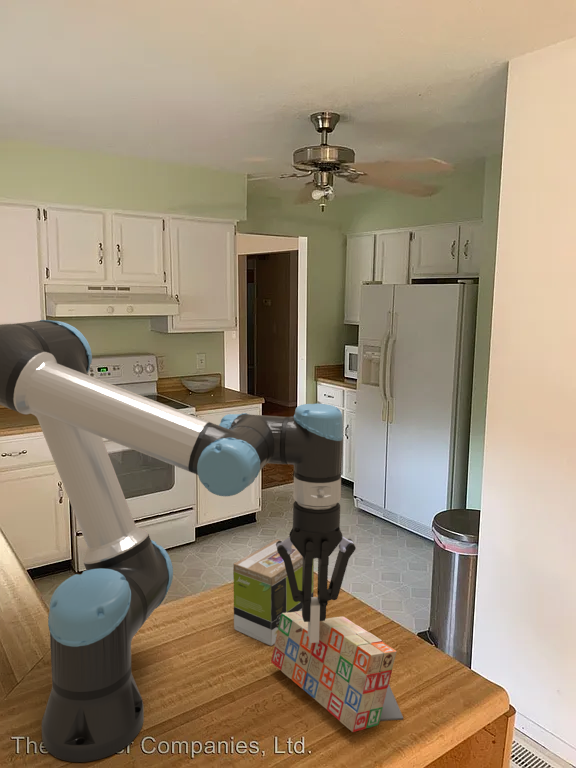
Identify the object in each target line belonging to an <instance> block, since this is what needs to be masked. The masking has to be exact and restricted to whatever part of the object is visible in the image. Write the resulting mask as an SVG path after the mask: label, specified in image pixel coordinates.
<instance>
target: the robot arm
mask: <svg viewBox="0 0 576 768" xmlns="http://www.w3.org/2000/svg"><path fill="white" fill-rule="evenodd" d="M92 362H93V354H92V348H91V346H90V343H89V342H88V340H87V338H86V337H85V336H84V334H83V333H82V332H81V331H80V330H79V329H77V328H76V327H75V326H73V325H71V324H69V323H68V322H63V321H59V320H49V319H41V320H37V321H27V322H17V323H4V324H0V406H2V407H4V408H7V409H9V410H12V411H14V412H17V413H19V414H22V415H30V414H31V415H33V416H34V417H36V419H37V421H38V424H39V426H40V429H41V431H42V434H43V436H44V439H45V442H46V444H47V446H48V450H49V453H50V454H51V457H52V459H53V463H54V464H55V468H56V470H57V473H58V476H59V478H60V480H61V483H62V484H63V488H64V491H65V492H66V495H67V498H68V500H69V503H70V506H71V509H72V511H73V513H74V516H75V519H76V521H77V523H78V526H79V528H80V531H81V533H82V536H83V539H84V542H85V544H86V547H87V548H86V550H85V552H84V554H83V555H84V556H83V557H82V562H83V565H84V568H85V570H84V571H82V573H81V574H77V573H76V574H73V575H71V576H70V577H68V578H67V579H65V580H63V582H61V583H60V584H59V585H58V586H57V587H56V589H55V590H54V591H53V593H52V595H51V597H50V601H49V612H48V617H47V618H48V622H47V625H48V629H49V641H50V642H49V645H50V662H51V663H50V664H51V683H52V685H51V686H52V687H51V692H50V694H49V697H48V699H47V700H48V701H47V703H46V708H45V709H44V710H45V711H44V713H43V715H42V720H41V738H42V744H43V746H44V748H45V749H46V751H47V752H48V753H49V754H50V755H52V756H53V757H55V758H57V759H59V760H62V761H65V762H66V761H67V762H73V763H86V762H93V761H97V760H102V759H105V758H107V757H110V756H112V755H114V754H116V753H118V752H120V751H121V750H123V749H124V748H126V747H127V746H128V745H129V744H130V743H132V742H133V741H134V739H136V737H137V736H138V735H139V734H140V731H142V727H143V723H144V718H145V717H144V713H145V712H144V708H145V707H144V702H143V701H144V700H143V698H142V696H141V693H140V691H139V688H138V685H137V683H136V680H135V677H134V676H133V673H132V642H133V641H132V640H133V638H134V637H135V635H137V633H138V632H139V630H140V629H141V628H142V627H143V625H144V624H145V623H146V621H147V620H148V619H149V618H150V616H151V615H152V614H153V613H154V611H155V610H156V609H157V608H159V606H160V605H161V604H162V603H163V601H164V599H166V596H167V594H168V591H169V590H170V588H171V586H172V584H173V578H174V568H173V563H172V560H171V557H170V555H169V553H168V552H167V550H166V549H165V548H164V547H163V545H159V544H158V543H157V541H154V540H152V539H151V537H150V534H149V533H148V531H147V530H145V529H143V528H141V527H138V526H137V525H136V523H135V520H134V517H133V515H132V513H131V510H130V507H129V505H128V503H127V500H126V497H125V495H124V492H123V489H122V486H121V484H120V482H119V478H118V476H117V474H116V471H115V468H114V465H113V462H112V461H111V458H110V455H109V452H108V449H107V448H106V445H105V442H104V439H105V440H108V441H111V442H113V443H116V444H118V445H121V446H123V447H126V448H129V449H131V450H133V451H136V452H138V453H141V454H143V455H146V456H148V457H151V458H154V459H157V460H159V461H160V462H161V461H162V462H164V463H166V464H168V465H171V466H174V467H177V468H179V469H182V470H184V471H186V472H190V473H192V474H195V475H196V476H197V477H198V479H199V481H200V483H201V484H202V486H203V487H204V488H206V489H207V491H209V492H210V493H211V494H213V495H216V496H220V497H232V496H235V495H238V494H240V493H242V491H244V490H246V489H247V488H248V487H249V486H250V485H252V484H253V483H254V481H255V480H256V478H258V475H259V473H260V472H261V470H262V469H264V467H265V466H266V465H267V464H272V465H273V464H274V465H276V464H277V465H293V491H292V492H293V493H292V494H293V495H292V498H293V500H294V502H293V503H292V505H293V506H292V528H291V530H290V531H289V536H288V537H287V538H286V539H284V540H281V541H278V542H277V543H276V547H277V551H278V553H279V555H280V556H281V558H282V559H283V560H284V564H285V568H286V572H287V576H288V581H289V585H290V589H291V593H292V597H293V600H294V601H295V602H298V601H299V602H302V617H303V620H304V622H308V637H309V641H310V643H318V642H319V623H320V621H325V619H327V606H328V604H329V601H337V599H338V598H339V596H340V595H339V594H340V591H341V588H342V584H343V581H344V577H345V575H346V570H347V567H348V563H349V559H350V558H351V557H352V555H353V554H354V552H355V551H356V545H355V543H354V542H353V540H352V538H346V537H345V536H343V532H342V531H341V528H340V527H341V524H340V523H341V504H340V502H341V498H342V497H341V496H342V495H341V494H342V493H341V492H342V467H343V464H342V462H343V448H344V447H343V446H344V445H343V443H344V442H343V441H344V433H343V432H344V431H343V414H342V411H341V410H340V409H339V408H338V407H337V406H335V405H332V404H326V403H304V404H300V405H298V406H297V407H296V408H295V411H294V415H293V416H279V415H278V416H277V415H264V414H263V415H262V414H250V413H246V412H245V413H243V412H242V413H232V414H231V413H227V414H225V415H224V416H223V417H222V418H221V419H220V423H219V424H216V423H213V422H210V421H208V420H207V419H204V418H202V417H198V416H195V415H193V414H190V413H188V412H185V411H182V410H179V409H177V408H174V407H172V406H169V405H167V404H164V403H162V402H159V401H156V400H153V399H151V398H148V397H146V396H143V395H140V394H138V393H135V392H133V391H131V390H128V389H125V388H122V387H120V386H117V385H114V384H112V383H109V382H107V381H105V380H101V379H99V378H96V377H94V376H91V375H89V374H88V373H89V371H90V369H91V368H90V367H91V365H92ZM282 541H283V542H282ZM292 545H294V546H295V548H296V549H297V550H298V552H299V553H300V554H301V555H302V557H303V570H302V591H301V590H298V586H297V582H296V578H295V573H294V569H293V565H292V561H291V557H290V553H291V552H292V548H291V546H292ZM337 547H338V549H339V550H338V553H337V557H336V561H335V563H334V567H333V570H332V574H331V577H330V581H328V579H329V578H328V575H329V574H328V573H329V572H328V571H329V563H330V557H329V556H331V555H332V554H333V553H334V551H335V550H336V548H337ZM313 559H317V586H316V587H317V593H316V594H317V596H313V597H311V592H312V566H313ZM328 582H329V583H328ZM328 584H329V585H328Z"/></svg>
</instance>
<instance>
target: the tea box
mask: <svg viewBox="0 0 576 768" xmlns="http://www.w3.org/2000/svg"><path fill="white" fill-rule="evenodd" d="M278 541H282V542H283V541H284V540H280V539H278V538H276V539H274V540H273V541H271V542H269V543H267V544H266V545H263V546H262V547H260V548H259V549H256V550H255V551H253V552H252V553H249V554H248V555H246V556H244V557H242V558H241V559H239V560H238V561H236V562H234V563H233V565H232V566H233V570H232V571H233V572H232V573H233V578H232V579H233V629H234V630H235V631H237V632H239V633H241V634H243V635H244V636H245V635H246V636H247V637H249V638H252V639H254V640H255V641H256V640H257V641H259V642H261V643H263V644H265V645H268V646H270V647H271V646H273V645H275V641H276V637H277V633H278V627H279V622H280V618H281V614H282V613H288V612H296V611H302V602H299V601H298V602H295V601H294V600H293V597H292V593H291V589H290V585H289V581H288V576H287V572H286V568H285V564H284V560H283V559H282V558H281V556H280V555H279V553H278V551H277V547H276V543H277V542H278ZM291 548H292V552H291V553H290V557H291V561H292V565H293V569H294V573H295V578H296V582H297V586H298V590H301V591H302V570H303V557H302V555H301V554H300V553H299V552H298V550H297V549H296V548H295V546H294V545H292V546H291ZM314 562H315V561H314V559H313V566H312V592H311V597H314V590H315V589H314V585H315V584H314V583H315V582H314V579H315V578H314V577H315V576H314V570H315V569H314V568H315V567H314V565H315V564H314Z"/></svg>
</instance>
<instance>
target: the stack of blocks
mask: <svg viewBox="0 0 576 768" xmlns="http://www.w3.org/2000/svg"><path fill="white" fill-rule="evenodd" d="M396 655H397V650H396V649H394V648H393V647H391V646H390V645H388V644H387V643H385V642H383V640H382V639H381V638H379V637H377V636H376V635H374V634H373V633H371V632H370V631H367V630H366V629H364V628H363V627H361V626H359V625H358V624H356V623H354V622H353V621H351V620H350V619H348V618H347V617H345V616H336V617H335V616H334V617H326V619H325V621H320V623H319V642H318V643H310V641H309V637H308V622H304V620H303V617H302V611H296V612H288V613H282V614H281V618H280V622H279V627H278V633H277V637H276V641H275V643H274V647H273V651H272V655H271V660H270V662H271V663H272V665H274V666H275V667H276V668H277V669H279V670H280V671H281V672H282V673H283V674H284V675H285V676H286V677H287V678H289V679H291V681H292V682H293V683H295V684H296V685H297V687H299V688H300V689H302V690H303V691H305V692H306V693H307V694H308V695H309V696H310V697H311V698H313V699H314V700H315V701H316V702H317V703H319V705H321V706H322V707H323V708H324V709H325V710H326V711H328V713H330V714H331V715H332V716H333V717H334V718H336V719H337V720H338V721H339V722H340V723H341V725H344V726H345V727H346V728H347V729H348V730H350V731H351V732H352V733H355V732H358V731H362V730H365V729H369V728H372V727H376V726H378V725H379V724H380V717H381V713H382V709H383V704H384V700H385V696H386V692H387V688H388V685H390V680H391V678H392V677H391V676H392V673H393V668H394V663H395V660H396Z"/></svg>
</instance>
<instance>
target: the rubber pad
mask: <svg viewBox="0 0 576 768" xmlns="http://www.w3.org/2000/svg"><path fill="white" fill-rule="evenodd" d="M398 720H399V721H401V720H404V716H403V713H402V712H401V709H400V707H399V704H398V701H397V700H396V697H395V695H394V692H393V690H392V687H391V684H389V685H388V688H387V692H386V696H385V700H384V704H383V709H382V713H381V717H380V721H381V722H384V721H398ZM380 721H379V722H380Z"/></svg>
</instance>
